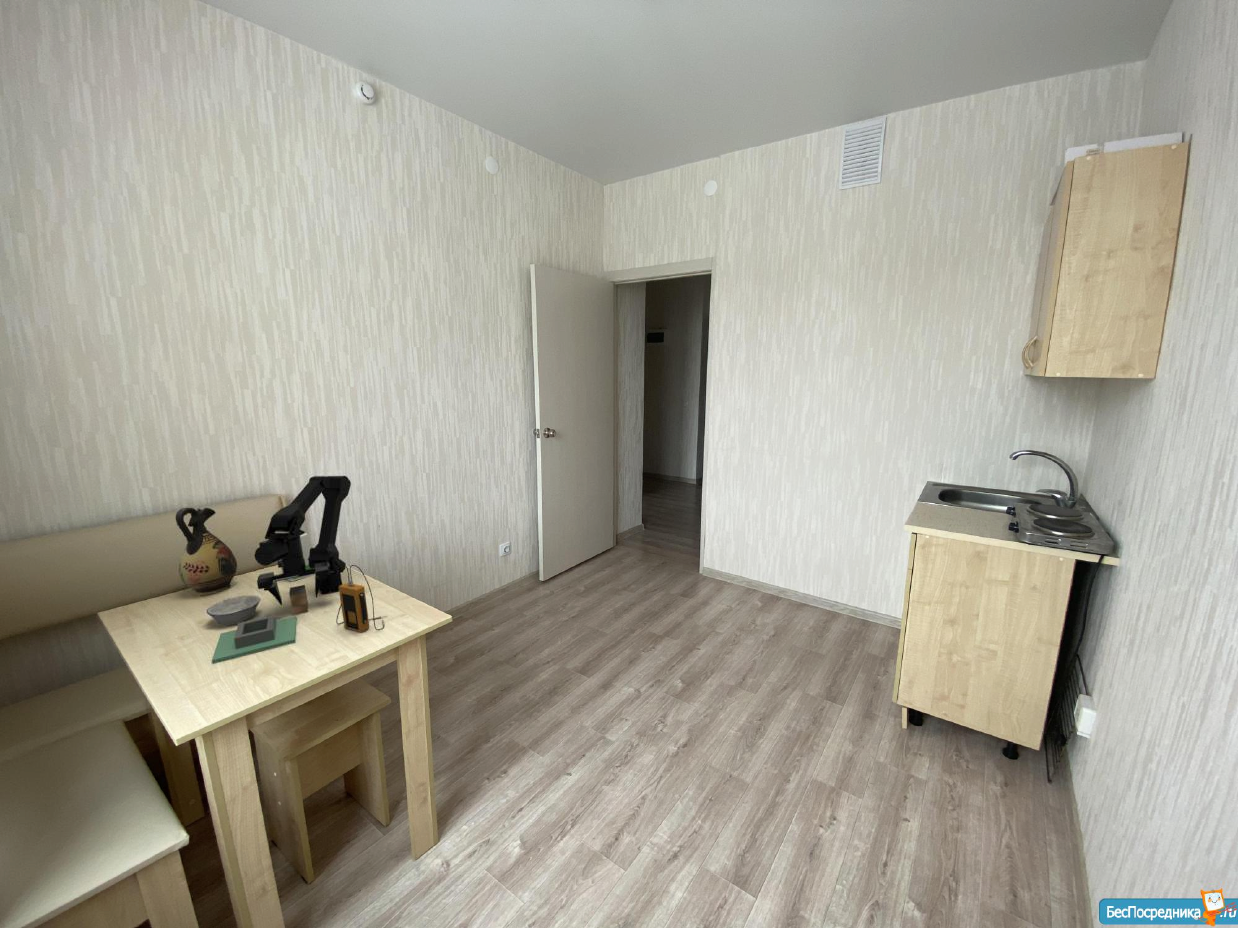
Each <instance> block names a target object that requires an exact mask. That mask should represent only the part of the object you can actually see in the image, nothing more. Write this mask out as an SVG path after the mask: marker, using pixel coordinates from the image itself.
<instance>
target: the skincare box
mask: <svg viewBox="0 0 1238 928" xmlns="http://www.w3.org/2000/svg"><path fill="white" fill-rule="evenodd" d="M300 539H301V545H302V551H303V557H304V559H305V565H306V568H305V569H309V568H310V567H309V564H308V562H309V561H308V558H309V552H310V549H311V545H310V537H309V533H306V532H305V534H303V535H300ZM280 570H281V574H283V568H282V567H281V568H280ZM310 576H315V574H311V575H306V576H301V577H296V578H291V579H286V580H285V581H288V582H290V583H292V582H294V581H295V582H296V581H298V580H301V579H304V578H307V577H310Z"/></svg>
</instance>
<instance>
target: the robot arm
mask: <svg viewBox="0 0 1238 928" xmlns="http://www.w3.org/2000/svg"><path fill="white" fill-rule="evenodd" d="M351 485H352V482H351V480H350V479H349V478H348V476H347V475H313V476H311V477H310V478H309V479H308V483H307V484H306V485H305V486H304V487H303V488H302V490H301V491H300V492H299V493H298V494H297V496H296V497H295V498H294V499H293V500H292V501H291V503H289V504H288V505H286V506H285V507H282V508H280V509H279V510H277V511H276V512H275V513H274V514H273V515H272V516H271V518H270V521H269V524H268V528H267V530H266V533H265V535H264V540H263V541H261V542H258V543H259V544H258V545H259V547H257V548H256V549H255V551H254V555H253V556H254V559H255V561H256V562H257V564H259V565H261V566H265V567H267V566H269V565H272V564H274V563H276V562H277V567H278V569H281V567H282V568H283V574H282V573H280V574H275V573H274V571H271V572H267V573H266V572H265V573H260V574H259V575H258V577H257V580H256V586H257V590H263V591H264V592H266V591H268V592H269V593H270V594H271V595H272V596H273V597H274V598H275V600H276V602H278V603H279V605H280V606H283V599H282V596H281V593H280V590H279V587H278V582H280V581H287V580H286V579H291V578H296V577H301V576H306V575H311V574H314V579H315V580H314V595H315V598H318V595H319V592H320V594H321V595H326V594H331V593H335V592H336V593H337V592H339V586H340V584H341V585H343V584H344V583H343V582H342V581H343V580H342V573H344V571H345V570H346V567H345V566H344V565H343V564H345V565H346V564H347V563H346V562H345V561H343V560H342V559H340V551H339V549H338V547H337V546H336V545H337V544H336V541H337V536H338V529H339V528H338V527H339V521H340V516H341V509H342V503H343V502H344V500H345V499H346V498H347V497H348V495H349V493H350V490H351ZM321 494H322V496H323V498H324V500H325V501H324V506H323V513H322V519H321V525H320V531H319V537H318V542H317V544H316V545H315V547H310V552H309V558H308V561H309V562H308V564H309V567H310V568H309V569H305V568H306V565H305V559H304V557H303V551H302V545H301V539H300V535H303V534H305V533H306V531H304V530H302V529H301V528H302V526H303V524H304V523H305V521H306V513H307V511H309V509H310V508H311V507H312V505H313V504H314V503H315V502H316V500H317V499H318V498H319V497H320V495H321ZM341 562H342V563H343V564H342V563H341ZM340 563H341V565H340V567H339V564H340ZM346 566H347V565H346ZM338 567H339V571H338ZM337 571H338V576H339V581H340V584H339V581H338V576H337ZM311 576H312V575H311Z"/></svg>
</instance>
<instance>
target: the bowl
mask: <svg viewBox="0 0 1238 928" xmlns="http://www.w3.org/2000/svg"><path fill="white" fill-rule="evenodd" d="M260 602H261V597H259V596H257V595H253V594H252V595H247V594H246V595H241V596H240V595H239V596H234V597H229V598H227V599H223V600H222V601H219V602H216V603H214V604H212V605H211V606H209V608H207V609H206V614H207V615H209V616H210V617H211V618H212V619H213V620H215V621H216V622H217V623H219V624H220V625H222V626H230V625H231V626H232V625H237V624H238V623H241V622H246V621H248V620H249V619H250V618H251V617H253V615H254V613H255V611H256V609H257V607H258V605H259V603H260Z"/></svg>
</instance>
